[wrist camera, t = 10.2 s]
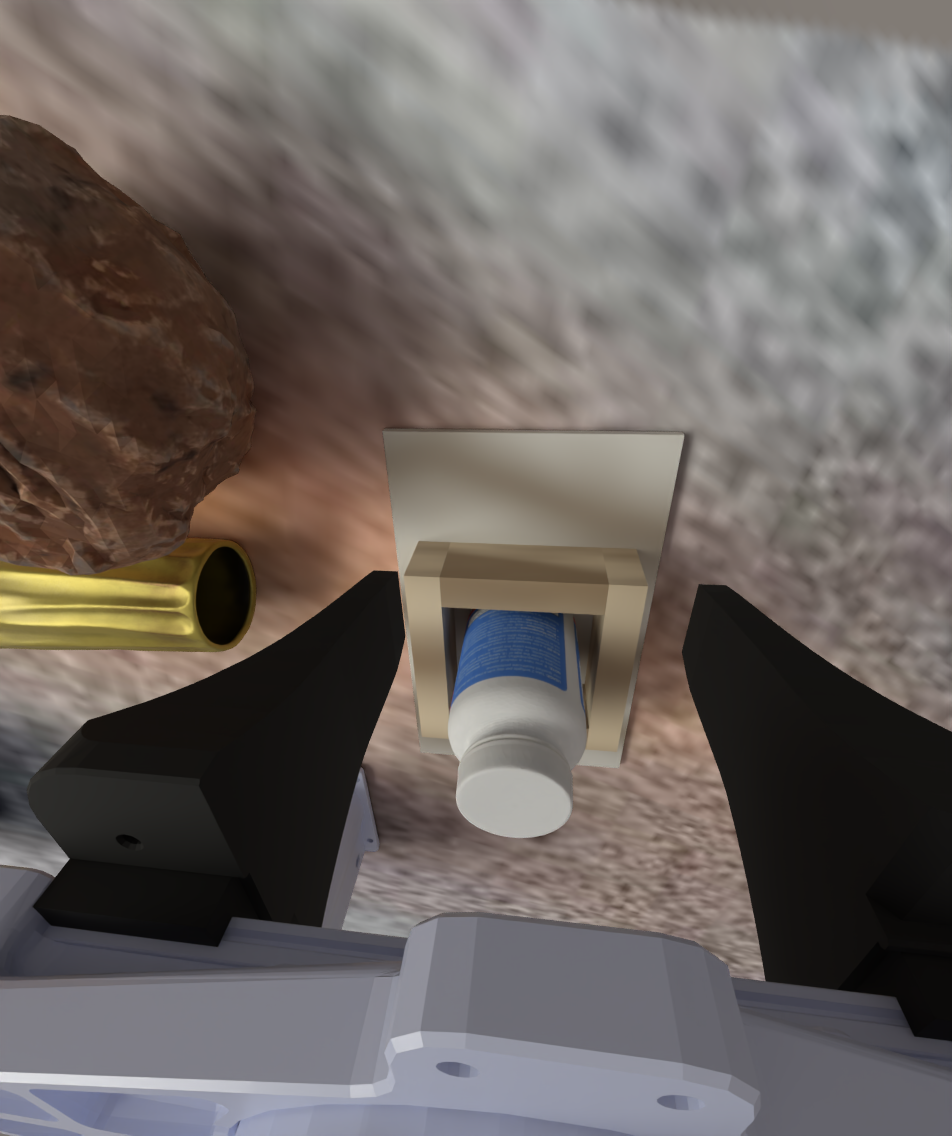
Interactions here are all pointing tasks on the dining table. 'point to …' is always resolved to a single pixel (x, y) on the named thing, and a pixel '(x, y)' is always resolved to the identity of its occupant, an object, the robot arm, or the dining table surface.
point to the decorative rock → (105, 369)
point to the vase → (133, 603)
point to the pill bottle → (517, 721)
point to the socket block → (530, 553)
